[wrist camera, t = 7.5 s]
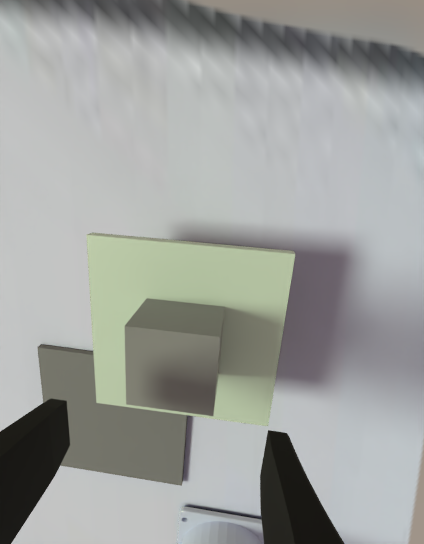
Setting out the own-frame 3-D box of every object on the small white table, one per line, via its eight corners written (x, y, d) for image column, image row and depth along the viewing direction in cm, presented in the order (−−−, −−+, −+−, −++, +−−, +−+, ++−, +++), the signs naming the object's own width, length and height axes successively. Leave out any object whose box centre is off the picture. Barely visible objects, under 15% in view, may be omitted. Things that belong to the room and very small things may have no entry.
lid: (267, 418, 18) (272, 476, 14) (100, 395, 18) (68, 445, 15) (293, 251, 15) (307, 274, 11) (92, 232, 15) (49, 249, 12)
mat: (182, 480, 25) (181, 485, 24) (52, 459, 26) (49, 463, 25) (191, 364, 21) (190, 368, 21) (41, 344, 22) (37, 347, 22)
